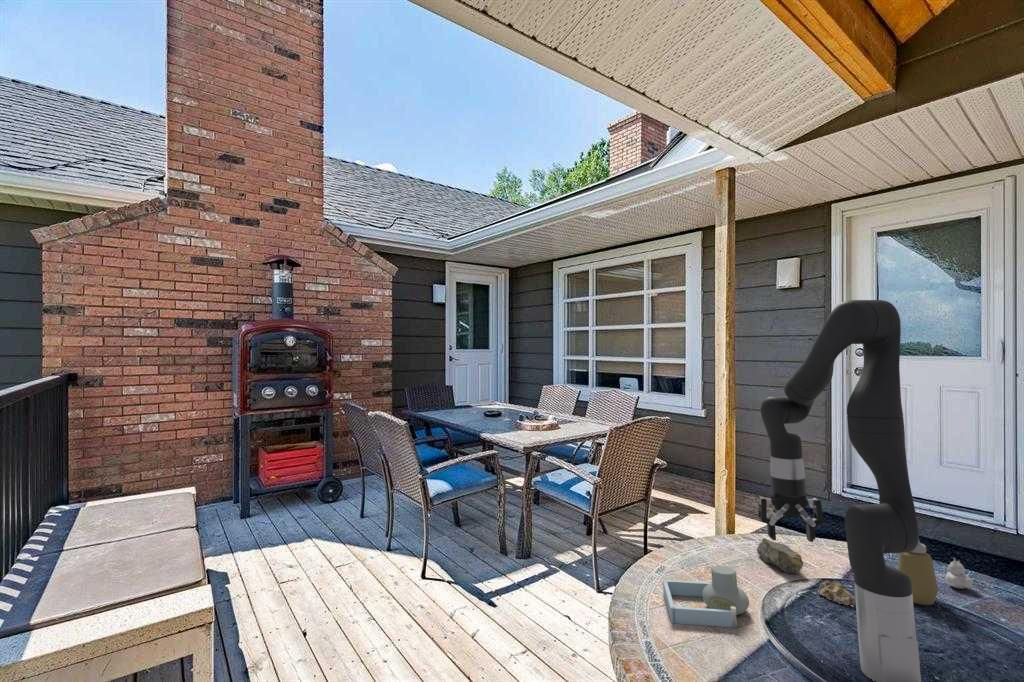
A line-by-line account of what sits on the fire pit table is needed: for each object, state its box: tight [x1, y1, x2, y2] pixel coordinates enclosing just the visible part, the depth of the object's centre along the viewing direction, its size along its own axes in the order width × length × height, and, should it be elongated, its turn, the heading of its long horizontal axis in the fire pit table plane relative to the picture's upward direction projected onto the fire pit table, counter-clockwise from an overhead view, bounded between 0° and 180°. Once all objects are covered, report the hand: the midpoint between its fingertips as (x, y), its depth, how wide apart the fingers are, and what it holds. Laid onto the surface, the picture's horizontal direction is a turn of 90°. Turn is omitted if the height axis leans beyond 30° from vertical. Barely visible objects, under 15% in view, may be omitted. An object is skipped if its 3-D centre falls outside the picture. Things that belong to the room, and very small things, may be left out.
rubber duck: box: [945, 557, 974, 590], centre depth 129 cm, size 5×7×8 cm
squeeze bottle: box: [897, 540, 939, 606], centre depth 123 cm, size 8×8×18 cm
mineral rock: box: [817, 580, 856, 606], centre depth 126 cm, size 11×4×8 cm
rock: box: [756, 537, 804, 575], centre depth 147 cm, size 17×7×10 cm
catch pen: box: [662, 579, 738, 629], centre depth 122 cm, size 16×15×4 cm
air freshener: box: [701, 565, 750, 616], centre depth 121 cm, size 11×8×10 cm
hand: (791, 540), depth 119 cm, fingers open, 8 cm apart
